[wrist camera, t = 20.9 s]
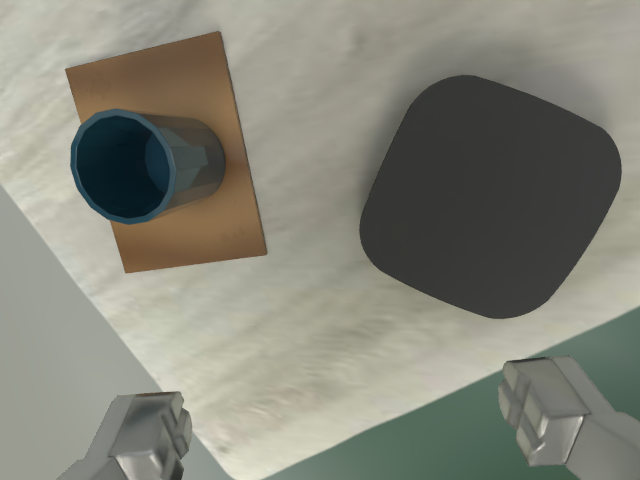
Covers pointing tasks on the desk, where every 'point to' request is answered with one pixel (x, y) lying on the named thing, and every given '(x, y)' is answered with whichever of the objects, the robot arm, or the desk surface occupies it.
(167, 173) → the cup
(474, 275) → the media streaming box
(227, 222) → the brown flat rectangular board
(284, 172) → the desk surface
